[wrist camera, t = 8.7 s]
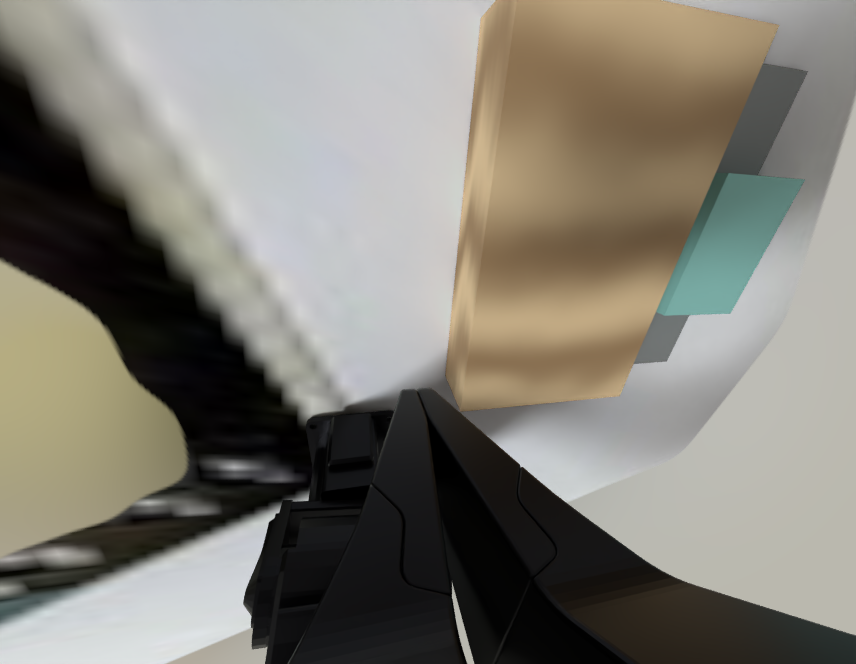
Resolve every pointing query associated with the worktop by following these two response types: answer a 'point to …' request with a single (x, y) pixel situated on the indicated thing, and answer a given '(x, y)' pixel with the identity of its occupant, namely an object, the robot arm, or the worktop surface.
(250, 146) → the worktop surface
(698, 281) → the teal rectangular block
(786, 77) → the mat
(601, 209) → the board
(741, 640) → the robot arm
